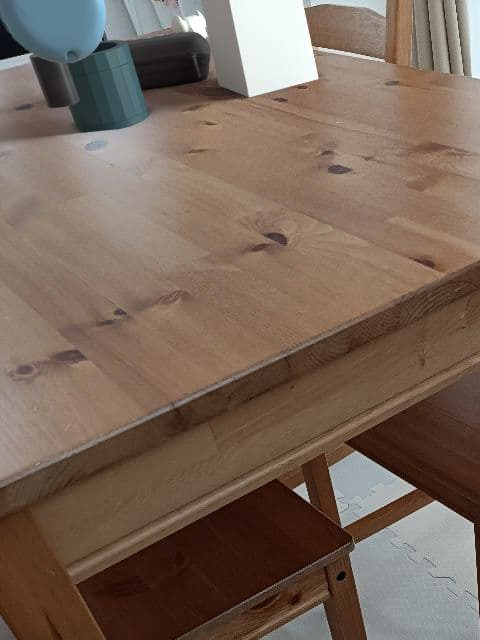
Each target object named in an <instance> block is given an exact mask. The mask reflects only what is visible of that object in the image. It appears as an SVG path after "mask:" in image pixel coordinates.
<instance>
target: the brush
mask: <svg viewBox="0 0 480 640" xmlns="http://www.w3.org/2000/svg"><path fill="white" fill-rule="evenodd" d="M29 60H30V63H31V65H32V68H33V72H34V74H35V76H36V79H37V82H38V84H39V87H40V89H41V93H42V95H43V98H44V101H45V103H46V106H47V108H49V109H60V108H66V107H69V106H71V105H74V104H76V103H78V102H79V101H80V99H79V96H78V93H77V90H76V87H75V85H74V82H73V79H72V76H71V73H70V70H69V67H68V64H67V63H56V62H51V61H48V60H45V59H42V58H40V57H38V56H35V54H33V53H31V54H30V55H29Z"/></svg>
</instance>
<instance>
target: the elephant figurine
mask: <svg viewBox="0 0 480 640" xmlns="http://www.w3.org/2000/svg"><path fill="white" fill-rule="evenodd" d="M170 28H171V31H172V33H178V32H197V33H199V34H201V35H202V36H203V37H204V38H205V39H206V40H207V38H209V35H208V32H207V31H206V28H207V24H206V19H205V16H203V14H202V13H201V12H200V11H199V10H197V9H196V10H194V11H193V14H192V15H187V16H183V17H180V16H179V15H174V16H173V17H172V19H171V23H170Z"/></svg>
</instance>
